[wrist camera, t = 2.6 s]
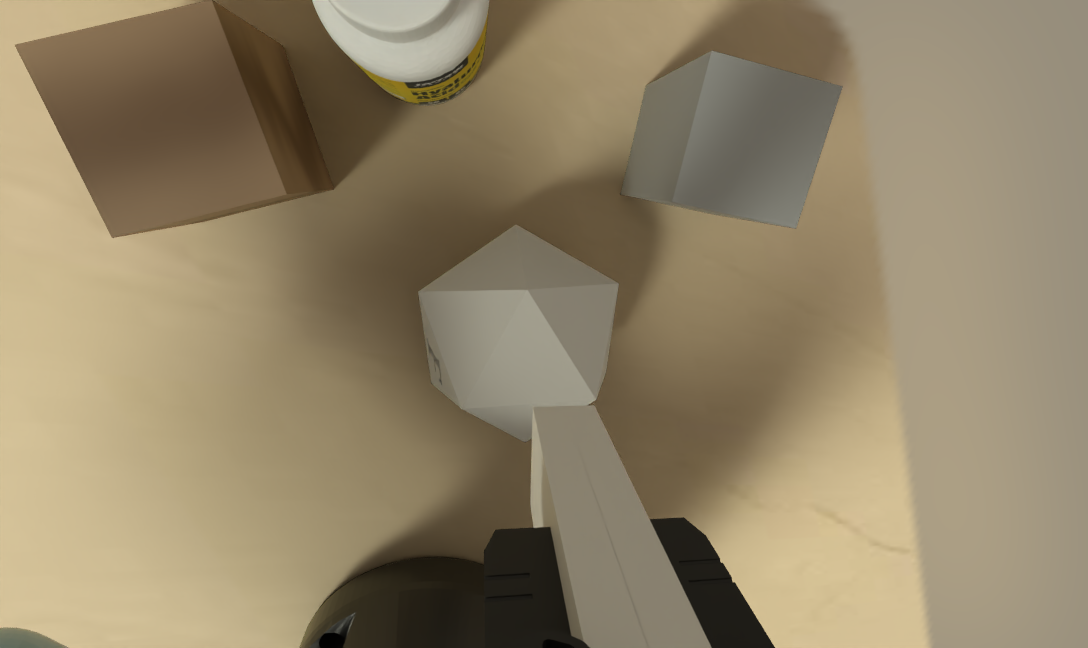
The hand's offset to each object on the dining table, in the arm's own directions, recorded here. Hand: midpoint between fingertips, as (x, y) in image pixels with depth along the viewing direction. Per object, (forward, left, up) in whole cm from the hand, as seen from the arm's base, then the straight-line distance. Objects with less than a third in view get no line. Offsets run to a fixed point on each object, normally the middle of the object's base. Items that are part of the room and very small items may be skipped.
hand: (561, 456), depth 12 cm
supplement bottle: (+12, +4, -14) cm, 19 cm away
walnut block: (+8, +12, -14) cm, 20 cm away
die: (0, 0, -14) cm, 14 cm away
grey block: (+8, -8, -14) cm, 18 cm away
